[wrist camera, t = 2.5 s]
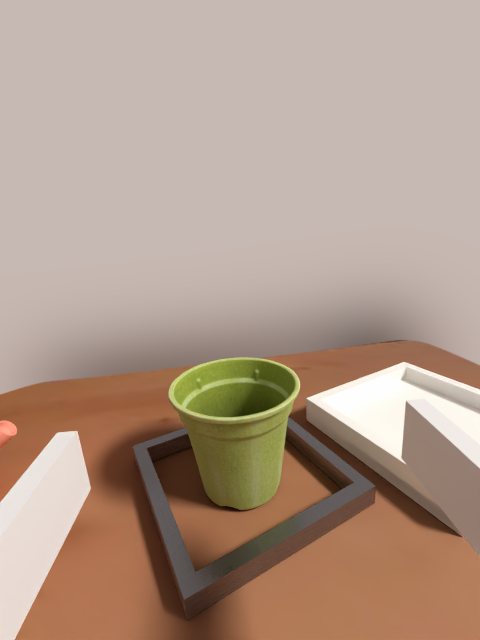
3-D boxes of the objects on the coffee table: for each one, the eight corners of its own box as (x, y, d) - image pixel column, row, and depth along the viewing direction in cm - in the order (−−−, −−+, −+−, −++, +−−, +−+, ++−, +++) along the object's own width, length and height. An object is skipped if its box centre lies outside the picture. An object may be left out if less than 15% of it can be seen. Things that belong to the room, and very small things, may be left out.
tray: (306, 419, 33) (306, 398, 32) (402, 380, 39) (404, 362, 39) (461, 536, 20) (467, 504, 19) (565, 449, 27) (572, 423, 26)
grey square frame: (135, 460, 29) (132, 446, 28) (267, 411, 35) (266, 399, 34) (187, 620, 17) (184, 599, 16) (374, 503, 23) (375, 486, 22)
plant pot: (165, 469, 27) (152, 376, 25) (257, 429, 32) (253, 348, 29) (214, 560, 20) (201, 439, 17) (327, 491, 24) (329, 387, 22)
